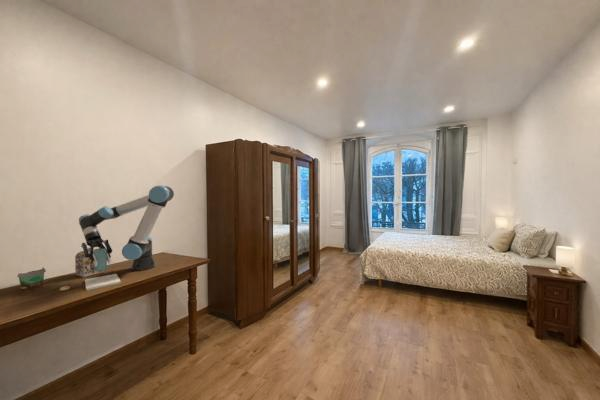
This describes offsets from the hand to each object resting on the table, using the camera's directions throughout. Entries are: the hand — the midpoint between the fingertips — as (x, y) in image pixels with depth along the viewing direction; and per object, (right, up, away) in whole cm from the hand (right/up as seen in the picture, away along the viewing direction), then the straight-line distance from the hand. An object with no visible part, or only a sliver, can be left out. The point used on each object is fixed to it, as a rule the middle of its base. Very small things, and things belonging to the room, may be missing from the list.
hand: (103, 263), depth 149 cm
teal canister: (-3, -4, +2) cm, 6 cm away
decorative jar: (-25, -12, +19) cm, 34 cm away
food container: (-37, -13, -4) cm, 40 cm away
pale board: (-2, -12, +2) cm, 13 cm away
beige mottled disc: (-16, -13, -8) cm, 22 cm away
